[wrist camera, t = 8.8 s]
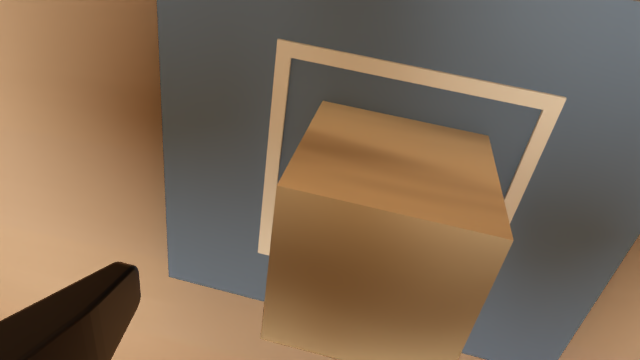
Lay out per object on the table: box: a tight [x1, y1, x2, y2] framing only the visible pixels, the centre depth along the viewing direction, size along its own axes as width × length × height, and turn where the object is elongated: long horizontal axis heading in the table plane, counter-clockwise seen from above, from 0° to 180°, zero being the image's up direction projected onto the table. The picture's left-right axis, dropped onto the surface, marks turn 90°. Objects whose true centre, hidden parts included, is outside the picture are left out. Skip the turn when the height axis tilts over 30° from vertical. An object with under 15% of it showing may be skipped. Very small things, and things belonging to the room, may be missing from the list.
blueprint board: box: [157, 0, 640, 360], centre depth 14 cm, size 12×14×1 cm
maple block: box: [260, 101, 514, 360], centre depth 12 cm, size 4×4×4 cm
